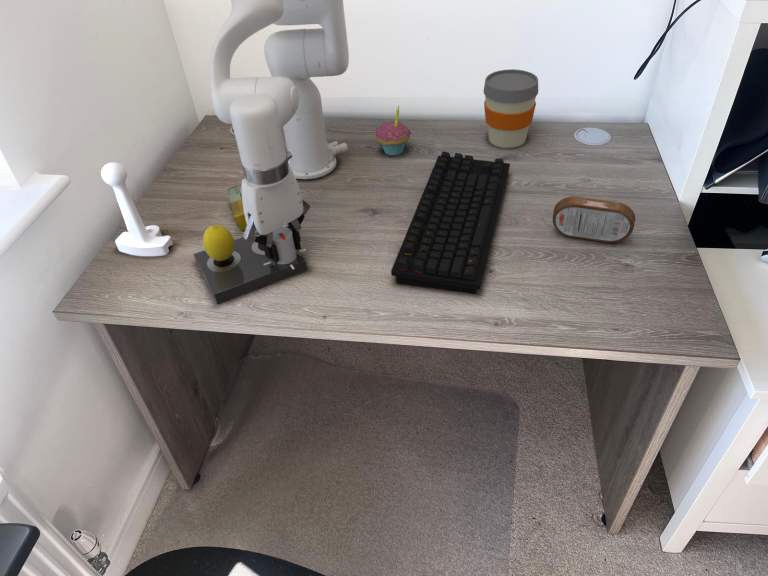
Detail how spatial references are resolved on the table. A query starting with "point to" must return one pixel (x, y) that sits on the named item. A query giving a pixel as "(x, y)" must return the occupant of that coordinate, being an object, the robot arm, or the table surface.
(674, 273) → the table surface
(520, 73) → the reusable coffee cup
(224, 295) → the hob
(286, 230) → the hob knob
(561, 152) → the table surface
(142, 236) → the joystick
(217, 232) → the lemon
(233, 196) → the medication box
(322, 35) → the robot arm
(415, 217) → the keyboard
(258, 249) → the burners
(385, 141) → the cupcake
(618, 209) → the tin
